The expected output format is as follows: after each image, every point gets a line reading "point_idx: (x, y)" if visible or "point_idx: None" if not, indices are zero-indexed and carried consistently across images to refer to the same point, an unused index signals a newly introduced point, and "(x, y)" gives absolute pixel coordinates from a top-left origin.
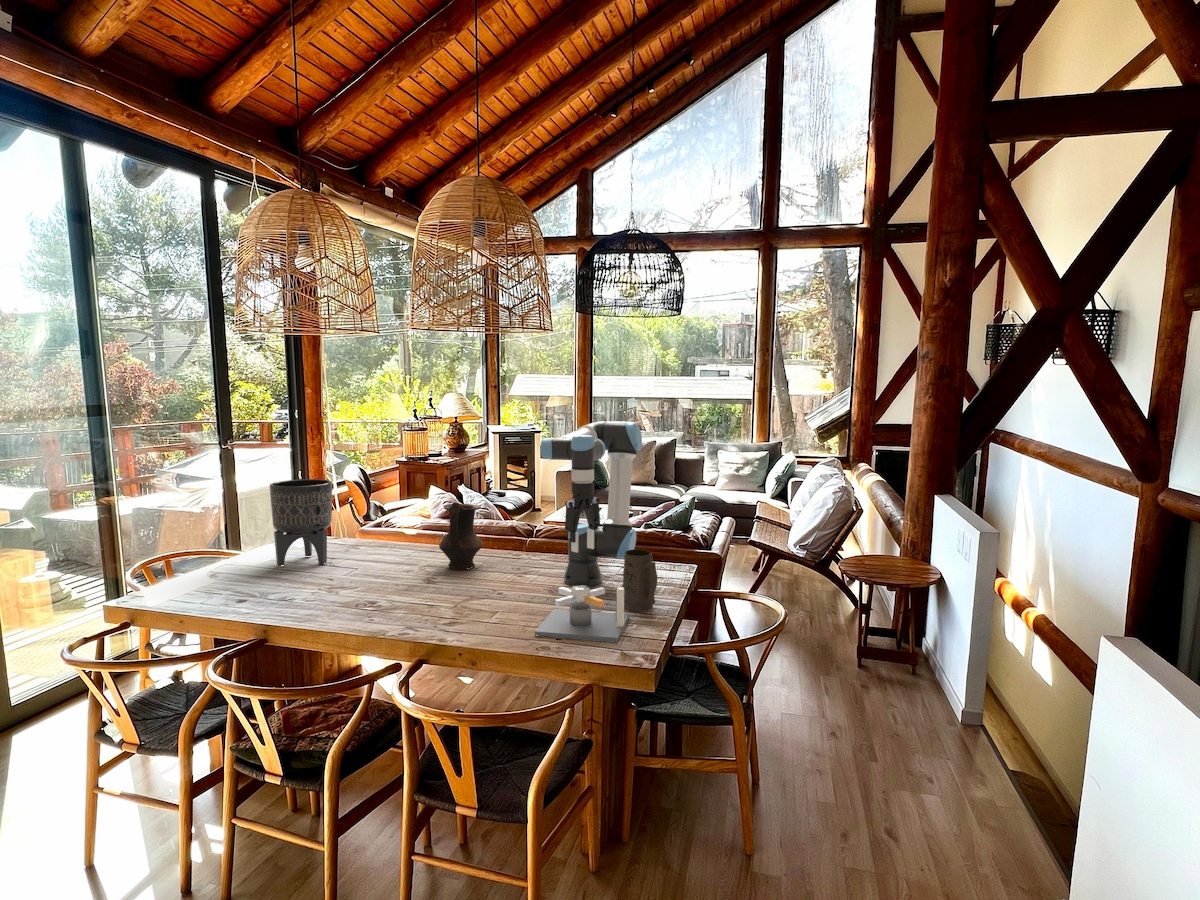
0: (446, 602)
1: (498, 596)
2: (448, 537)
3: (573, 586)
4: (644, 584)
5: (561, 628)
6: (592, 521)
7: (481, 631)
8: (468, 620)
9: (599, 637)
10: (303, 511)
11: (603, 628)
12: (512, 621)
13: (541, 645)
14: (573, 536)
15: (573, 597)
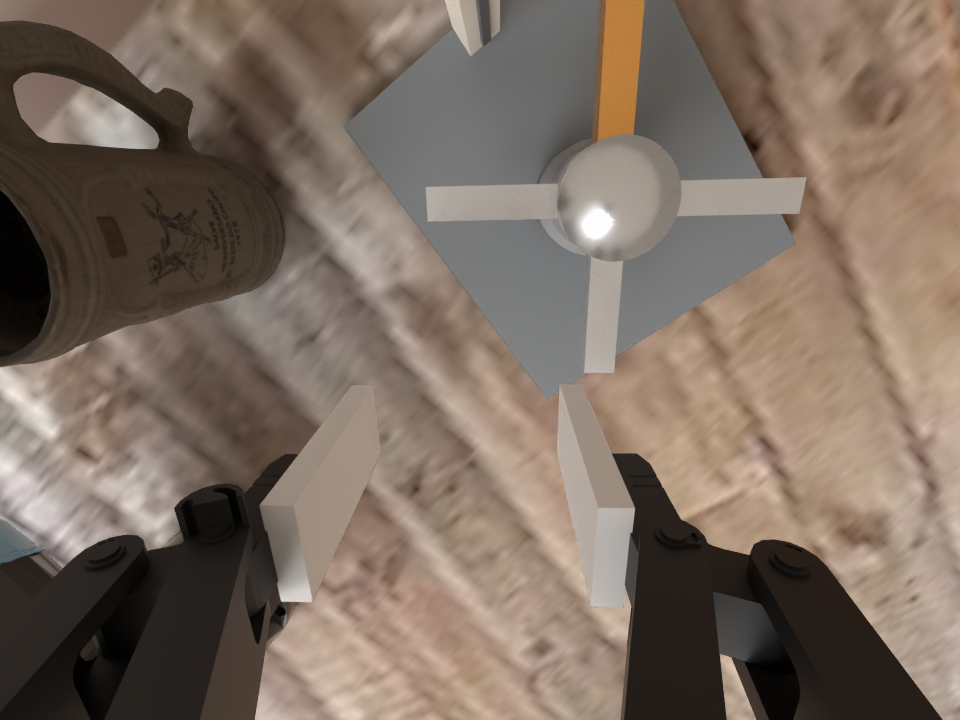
0: None
1: (563, 632)
2: None
3: (624, 260)
4: (136, 151)
5: None
6: (211, 632)
7: (865, 413)
8: (805, 522)
9: None
10: None
11: (566, 52)
12: (714, 422)
13: (852, 133)
14: (655, 499)
15: (684, 180)
